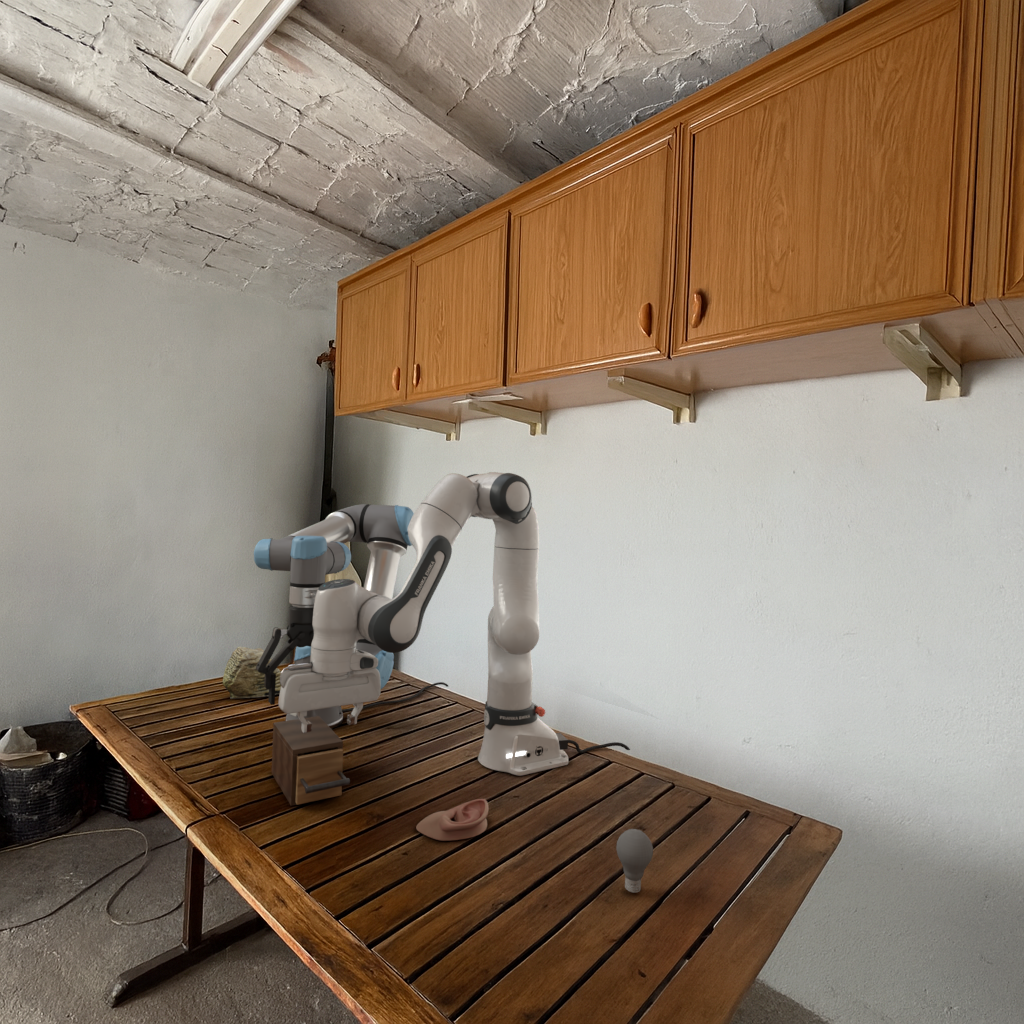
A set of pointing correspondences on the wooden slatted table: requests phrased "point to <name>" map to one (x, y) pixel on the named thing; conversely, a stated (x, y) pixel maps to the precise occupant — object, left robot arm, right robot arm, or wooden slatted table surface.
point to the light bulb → (634, 857)
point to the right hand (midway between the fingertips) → (329, 727)
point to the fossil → (247, 674)
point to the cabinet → (297, 749)
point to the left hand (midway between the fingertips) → (303, 698)
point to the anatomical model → (456, 821)
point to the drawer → (319, 775)
